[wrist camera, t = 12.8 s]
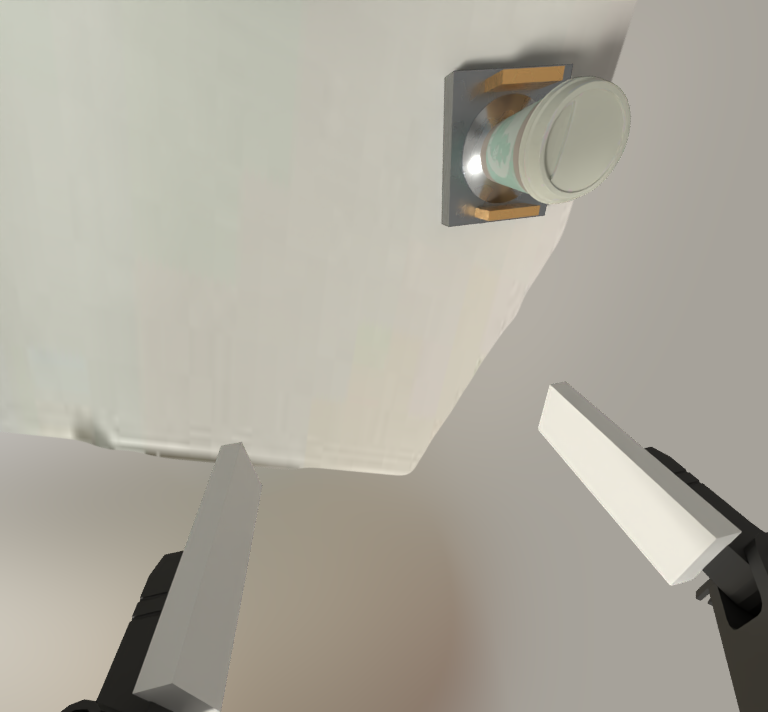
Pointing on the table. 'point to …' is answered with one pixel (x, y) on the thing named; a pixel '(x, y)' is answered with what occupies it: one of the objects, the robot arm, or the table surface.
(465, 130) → the block
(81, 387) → the table surface
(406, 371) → the table surface
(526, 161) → the coffee cup
